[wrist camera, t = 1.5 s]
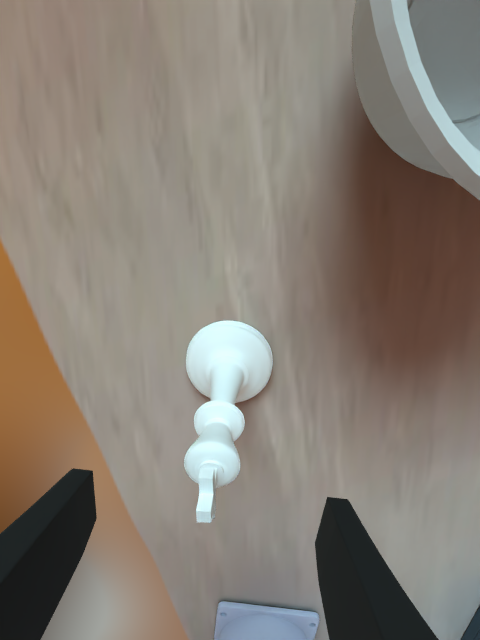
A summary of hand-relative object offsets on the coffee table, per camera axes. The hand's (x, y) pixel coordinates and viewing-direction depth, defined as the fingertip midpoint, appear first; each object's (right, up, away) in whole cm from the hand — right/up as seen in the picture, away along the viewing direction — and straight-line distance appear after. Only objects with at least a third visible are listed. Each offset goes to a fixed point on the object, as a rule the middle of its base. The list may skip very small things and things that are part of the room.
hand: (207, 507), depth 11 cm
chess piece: (0, +4, +9) cm, 10 cm away
